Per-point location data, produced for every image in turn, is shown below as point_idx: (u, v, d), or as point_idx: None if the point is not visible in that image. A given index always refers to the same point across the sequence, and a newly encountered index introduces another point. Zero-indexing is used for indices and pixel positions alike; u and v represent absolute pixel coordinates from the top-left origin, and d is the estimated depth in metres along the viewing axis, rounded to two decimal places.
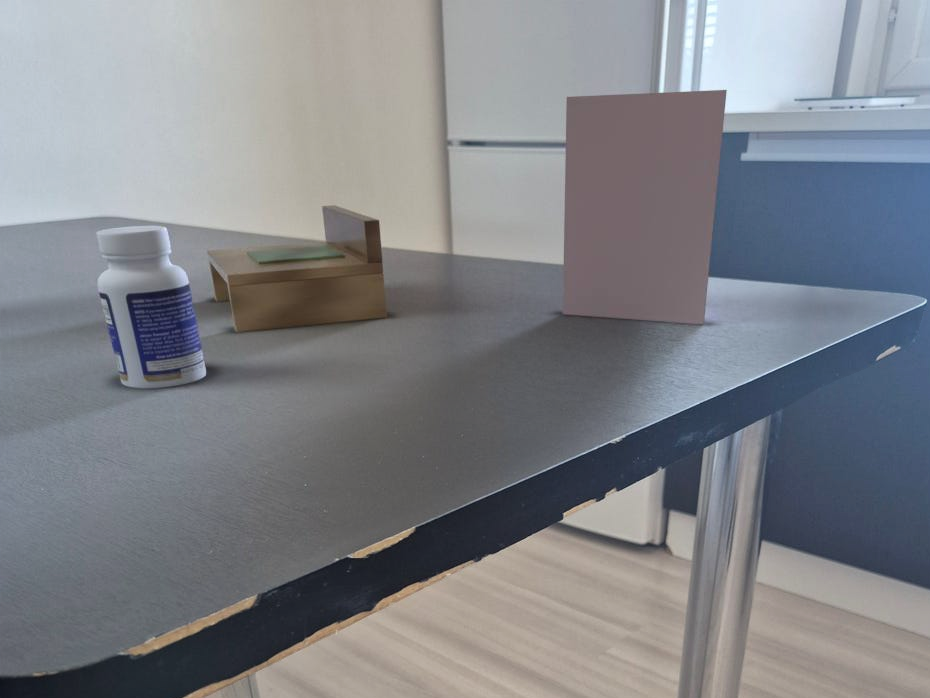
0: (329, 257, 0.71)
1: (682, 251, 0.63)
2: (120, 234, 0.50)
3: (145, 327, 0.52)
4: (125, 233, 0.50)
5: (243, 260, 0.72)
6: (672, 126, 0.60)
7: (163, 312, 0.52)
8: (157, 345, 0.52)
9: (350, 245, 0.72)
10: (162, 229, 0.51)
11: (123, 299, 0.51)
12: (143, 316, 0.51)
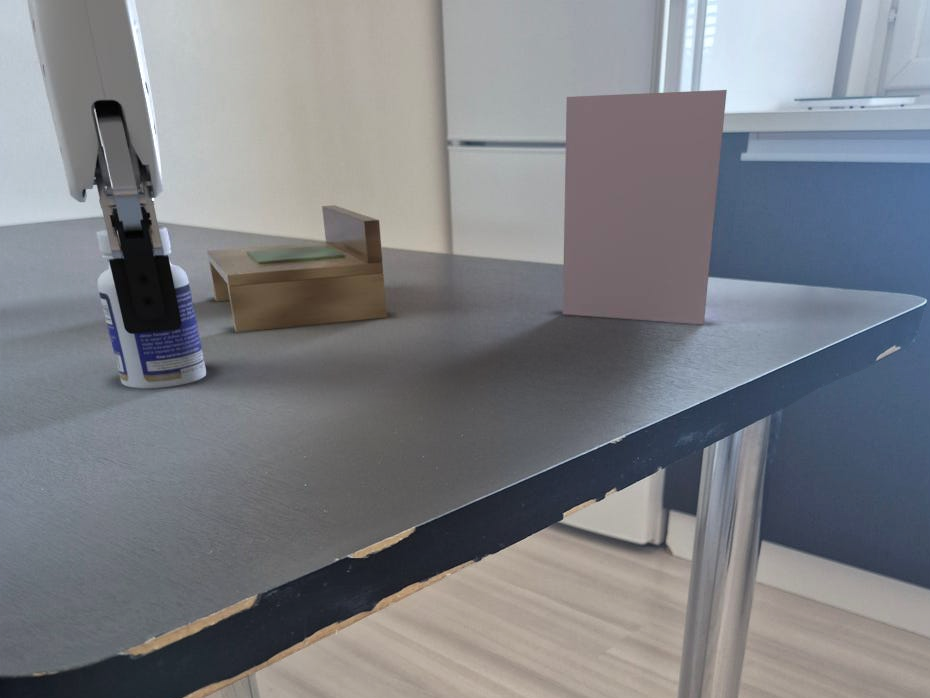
0: (329, 257, 0.71)
1: (682, 251, 0.63)
2: None
3: None
4: None
5: (243, 260, 0.72)
6: (672, 126, 0.60)
7: None
8: (157, 345, 0.52)
9: (350, 245, 0.72)
10: (162, 229, 0.51)
11: None
12: None
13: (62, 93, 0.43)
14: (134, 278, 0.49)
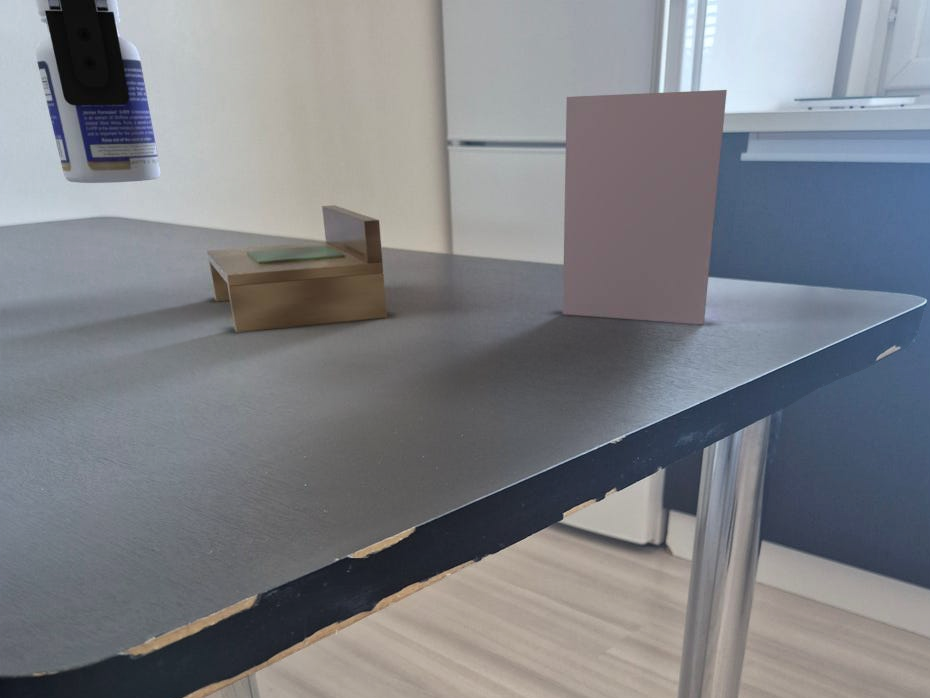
0: (329, 257, 0.71)
1: (682, 251, 0.63)
2: None
3: None
4: None
5: (243, 260, 0.72)
6: (672, 126, 0.60)
7: None
8: (103, 125, 0.47)
9: (350, 245, 0.72)
10: None
11: None
12: None
13: None
14: (74, 32, 0.43)
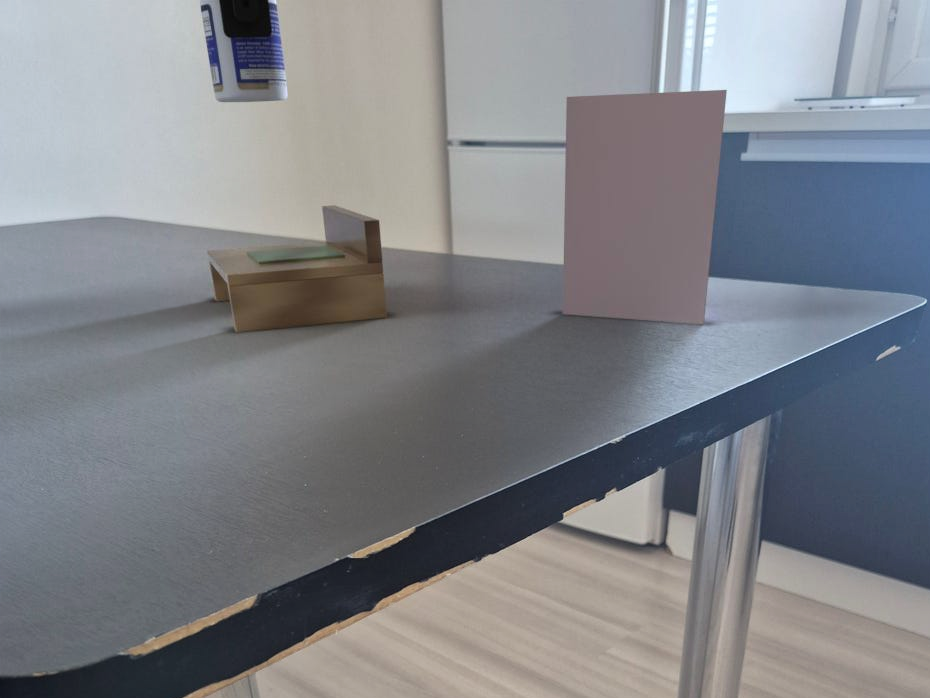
0: (329, 257, 0.71)
1: (682, 251, 0.63)
2: None
3: None
4: None
5: (243, 260, 0.72)
6: (672, 126, 0.60)
7: None
8: (250, 53, 0.61)
9: (350, 245, 0.72)
10: None
11: None
12: None
13: None
14: None
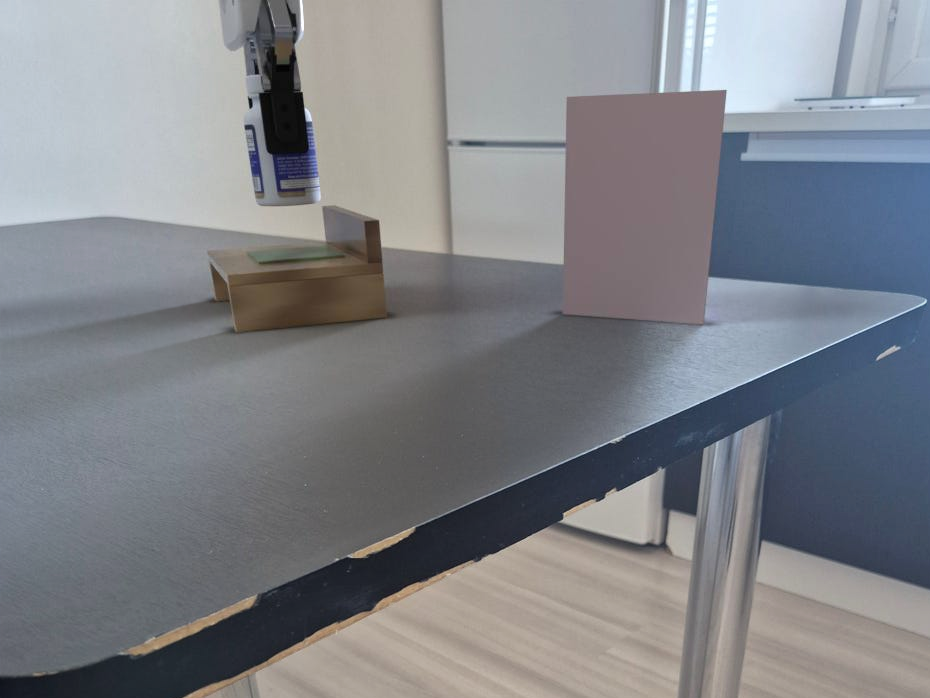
0: (329, 257, 0.71)
1: (682, 251, 0.63)
2: None
3: None
4: None
5: (243, 260, 0.72)
6: (672, 126, 0.60)
7: None
8: (289, 166, 0.68)
9: (350, 245, 0.72)
10: None
11: None
12: None
13: None
14: (278, 106, 0.64)
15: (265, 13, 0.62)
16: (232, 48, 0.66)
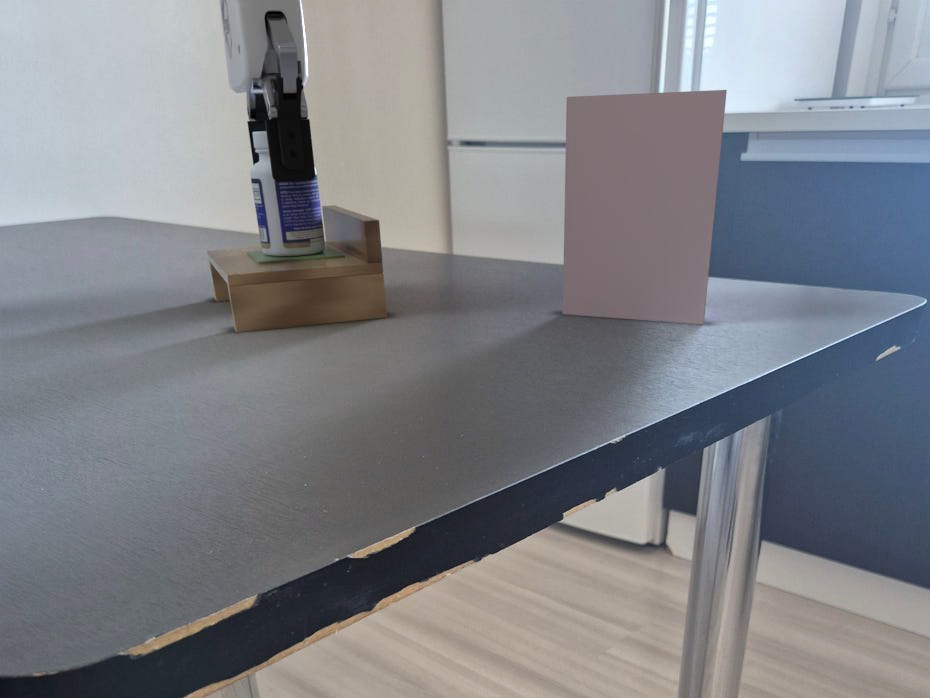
0: (329, 257, 0.71)
1: (682, 251, 0.63)
2: None
3: (287, 204, 0.69)
4: None
5: (243, 260, 0.72)
6: (672, 126, 0.60)
7: (301, 193, 0.69)
8: (295, 219, 0.70)
9: (350, 245, 0.72)
10: None
11: (273, 182, 0.68)
12: (286, 196, 0.69)
13: (245, 4, 0.60)
14: (285, 134, 0.64)
15: (270, 60, 0.64)
16: (237, 91, 0.68)
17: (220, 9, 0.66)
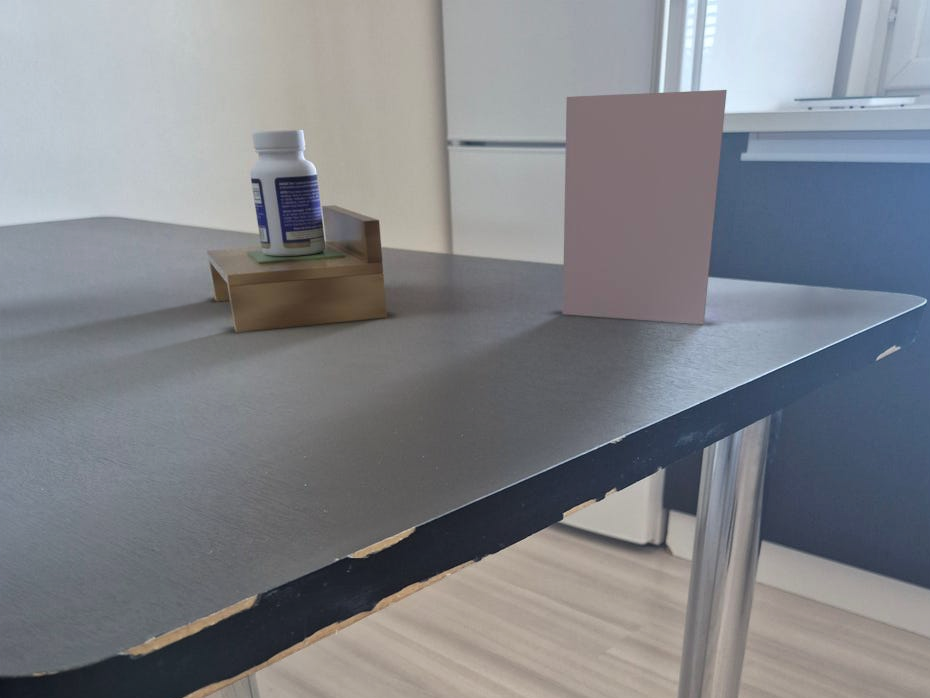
0: (329, 257, 0.71)
1: (682, 251, 0.63)
2: (273, 132, 0.67)
3: (287, 204, 0.69)
4: (276, 131, 0.67)
5: (243, 260, 0.72)
6: (672, 126, 0.60)
7: (301, 193, 0.69)
8: (295, 219, 0.70)
9: (350, 245, 0.72)
10: (301, 130, 0.68)
11: (272, 182, 0.68)
12: (286, 196, 0.69)
13: None
14: None
15: None
16: None
17: None
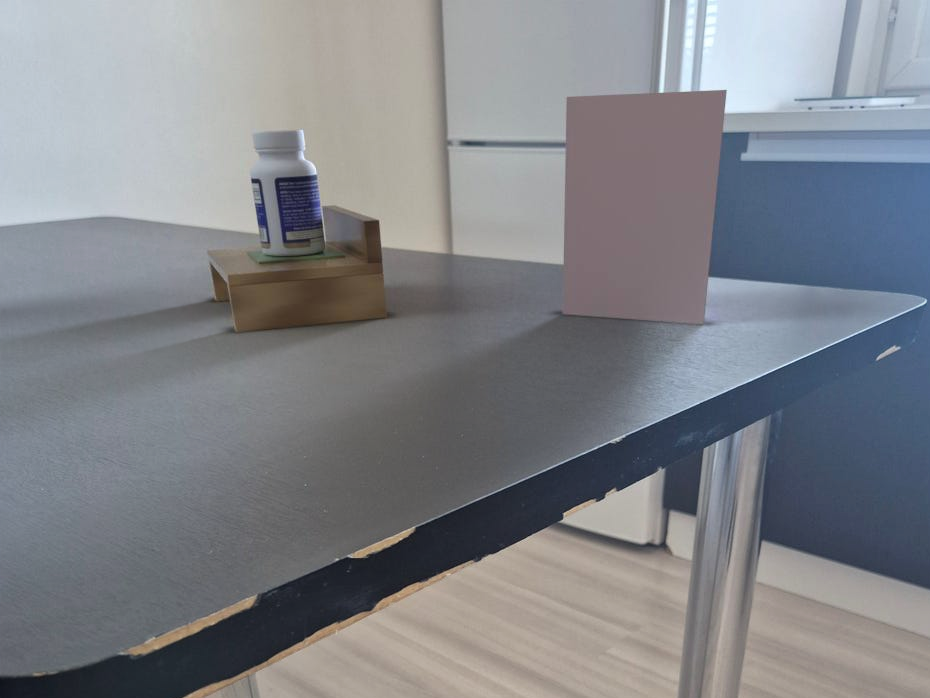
0: (329, 257, 0.71)
1: (682, 251, 0.63)
2: (273, 132, 0.67)
3: (287, 204, 0.69)
4: (276, 131, 0.67)
5: (243, 260, 0.72)
6: (672, 126, 0.60)
7: (301, 193, 0.69)
8: (295, 219, 0.70)
9: (350, 245, 0.72)
10: (301, 130, 0.68)
11: (272, 182, 0.68)
12: (286, 196, 0.69)
13: None
14: None
15: None
16: None
17: None
